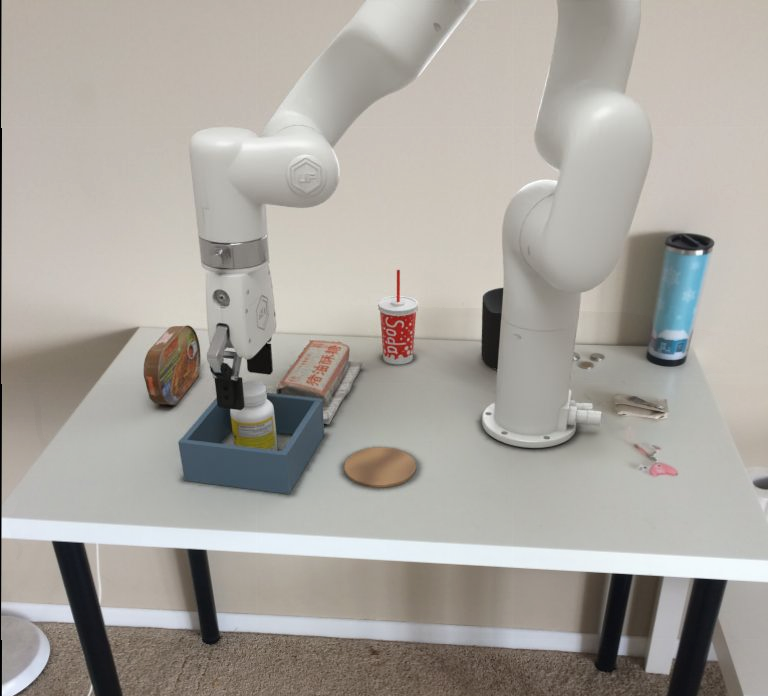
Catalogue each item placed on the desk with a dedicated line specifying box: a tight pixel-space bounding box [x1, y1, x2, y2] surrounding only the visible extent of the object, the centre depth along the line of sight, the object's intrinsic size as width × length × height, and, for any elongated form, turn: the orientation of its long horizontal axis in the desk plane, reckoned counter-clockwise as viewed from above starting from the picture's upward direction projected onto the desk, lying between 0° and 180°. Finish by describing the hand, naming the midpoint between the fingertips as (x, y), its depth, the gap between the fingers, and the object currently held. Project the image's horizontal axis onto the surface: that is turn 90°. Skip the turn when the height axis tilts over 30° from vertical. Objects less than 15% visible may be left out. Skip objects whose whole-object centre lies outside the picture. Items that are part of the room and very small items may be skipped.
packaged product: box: [271, 339, 363, 425], centre depth 125 cm, size 18×5×10 cm
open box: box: [177, 392, 325, 495], centre depth 110 cm, size 14×15×6 cm
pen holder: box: [481, 287, 503, 370], centre depth 132 cm, size 9×9×10 cm
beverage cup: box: [377, 269, 419, 365], centre depth 132 cm, size 6×6×14 cm
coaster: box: [343, 446, 417, 489], centre depth 109 cm, size 9×9×1 cm
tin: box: [143, 324, 202, 406], centre depth 125 cm, size 15×3×8 cm, turn 170°
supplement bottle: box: [230, 380, 279, 451], centre depth 109 cm, size 5×5×10 cm
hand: (246, 389), depth 106 cm, fingers open, 9 cm apart
